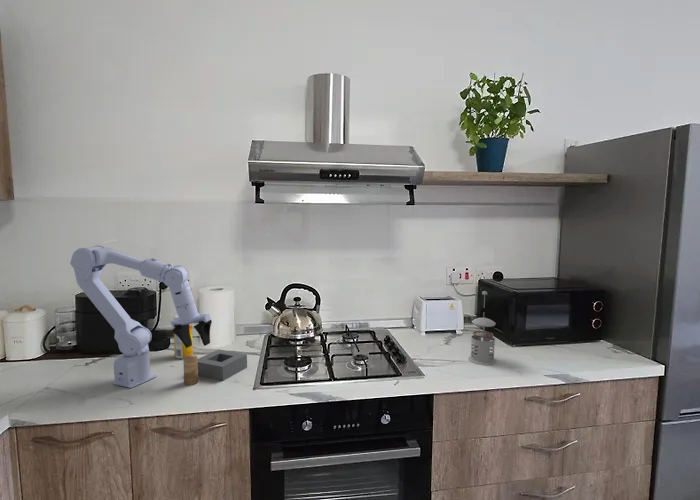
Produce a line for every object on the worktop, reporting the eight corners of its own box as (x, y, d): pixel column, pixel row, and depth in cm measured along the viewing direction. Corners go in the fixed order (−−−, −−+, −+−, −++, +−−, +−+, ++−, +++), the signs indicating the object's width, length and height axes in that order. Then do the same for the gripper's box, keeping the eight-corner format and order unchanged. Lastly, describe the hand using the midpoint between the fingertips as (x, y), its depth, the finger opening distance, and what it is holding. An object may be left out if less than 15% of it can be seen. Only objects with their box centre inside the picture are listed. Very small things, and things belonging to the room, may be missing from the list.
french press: (468, 363, 142) (470, 292, 140) (467, 352, 153) (469, 286, 151) (498, 366, 140) (501, 294, 137) (494, 354, 151) (497, 288, 149)
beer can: (196, 354, 151) (194, 314, 149) (188, 360, 145) (186, 318, 143) (180, 353, 151) (178, 313, 150) (171, 359, 145) (169, 318, 144)
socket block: (223, 380, 127) (222, 366, 127) (193, 374, 132) (192, 361, 131) (247, 367, 138) (246, 354, 138) (218, 361, 143) (218, 349, 142)
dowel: (191, 386, 123) (190, 360, 122) (181, 384, 125) (180, 358, 124) (201, 381, 127) (200, 356, 126) (191, 379, 128) (190, 354, 128)
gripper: (211, 297, 128) (224, 337, 129) (177, 303, 133) (190, 342, 135) (195, 304, 121) (208, 347, 123) (160, 310, 127) (174, 351, 129)
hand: (198, 345), depth 128 cm, fingers open, 7 cm apart
